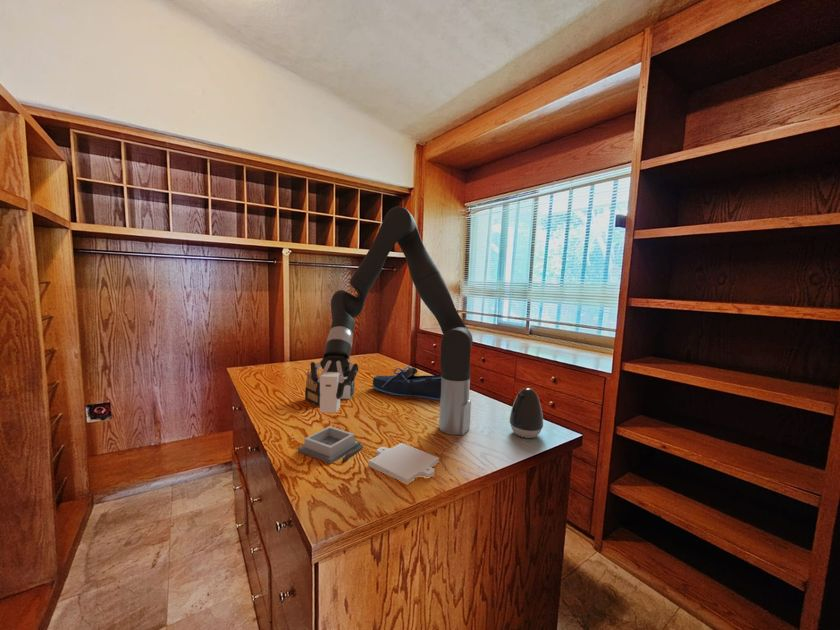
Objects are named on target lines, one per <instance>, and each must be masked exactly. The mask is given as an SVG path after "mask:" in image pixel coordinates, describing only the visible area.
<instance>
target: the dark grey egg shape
mask: <svg viewBox="0 0 840 630" xmlns="http://www.w3.org/2000/svg"><path fill="white" fill-rule="evenodd" d="M509 424H510V427H511V430H512V431H513V432H514V434H515V435H517V436H519V437H520V436H521V438H523V437H525V439H532V438H536V437H537V436H538V435H539V434H540V433H541V432H542V430H543V427H544V414H543V410H542V405H541V402H540V398H539V396H538V394H537V392H536V391H535V390H534V389H533V388H531V387H524V388H522V389H520V391H519V392H518V393H517V395H516V397H515V399H514V401H513V404H512V407H511V410H510V415H509Z"/></svg>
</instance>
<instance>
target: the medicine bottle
mask: <svg viewBox="0 0 840 630" xmlns="http://www.w3.org/2000/svg"><path fill="white" fill-rule="evenodd" d="M349 373H350V368H348V369H347V370H346V371H345V372H344V373H343V376H344V379H347V377H348V375H349ZM355 378H356V377H355ZM355 378H354V380H353V382H352V384H351V385H346V386H345V387H344V391H343V396H342V397H340V400H341V399H342V400H351V399H352V398H353V396H354V394H355V382H356V380H355Z"/></svg>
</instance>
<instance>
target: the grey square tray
mask: <svg viewBox="0 0 840 630" xmlns="http://www.w3.org/2000/svg"><path fill="white" fill-rule="evenodd" d="M355 436H356V435H355V433H353V432H349V431H346V430H343V429H340V428H336V427H334V426H330V425H329V426H327V427H325V428H323V429H321V430H318V431H317V432H314V433H313V434H311V435H309V436H307V437H304V442H303V443H304V444H303V445H301V446H298V447H297V452H299V453H301V454H303V455H307V456H309V457H312V458H314V459H317V460H319V461H321V462H325V463H327V464H330V465H331V464H333V463H334V462H336V461H338V460H339V459H341V458H344V457H345V456H346V455H348V454H349V453H350V452H352V451H353V450H354V449H356V448H357V447H358V446H360V445H361V443H362V442H361V441H358V440H355Z"/></svg>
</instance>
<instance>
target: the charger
mask: <svg viewBox="0 0 840 630" xmlns="http://www.w3.org/2000/svg"><path fill="white" fill-rule="evenodd" d="M320 375H321V374H320ZM320 375H319V376H320ZM339 378H340V373H338V372H324V373H323V374H322V375H321V376H320V407H319V413H329V414H332V413H333V414H334V413H336V414H337V413H338V411H339V409H340V407H341V399H337V397H336V394H337V389H338V384H339Z"/></svg>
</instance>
